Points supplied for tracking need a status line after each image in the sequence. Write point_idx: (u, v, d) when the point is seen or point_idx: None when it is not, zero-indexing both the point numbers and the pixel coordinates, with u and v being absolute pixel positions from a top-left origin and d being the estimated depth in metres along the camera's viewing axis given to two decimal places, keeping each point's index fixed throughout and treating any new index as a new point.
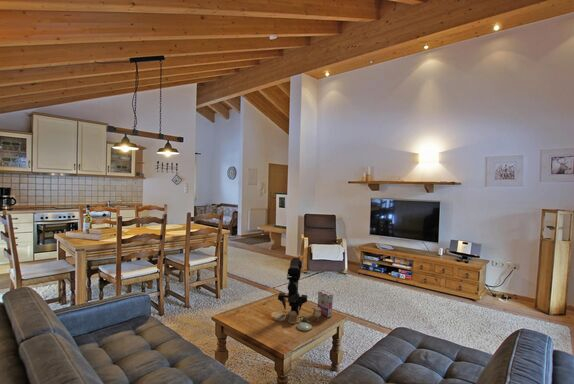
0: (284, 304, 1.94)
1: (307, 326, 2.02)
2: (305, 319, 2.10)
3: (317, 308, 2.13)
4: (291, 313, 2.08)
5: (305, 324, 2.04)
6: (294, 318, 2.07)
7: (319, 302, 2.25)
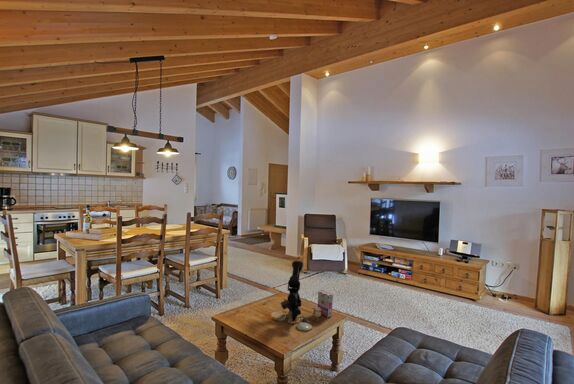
0: (289, 311, 2.12)
1: (307, 326, 2.02)
2: (305, 319, 2.10)
3: (317, 308, 2.13)
4: None
5: (305, 324, 2.04)
6: None
7: (319, 302, 2.25)
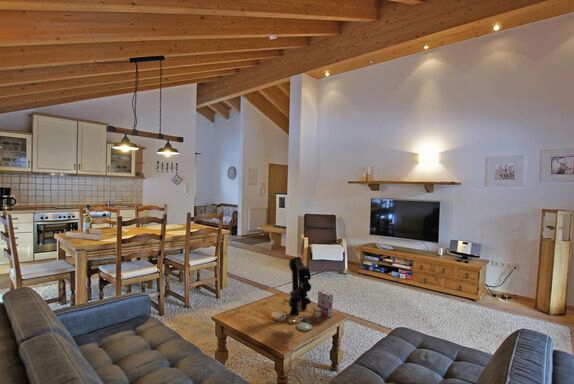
0: (299, 301, 2.06)
1: (307, 326, 2.02)
2: (305, 319, 2.10)
3: (317, 308, 2.13)
4: (300, 303, 2.02)
5: (305, 324, 2.04)
6: None
7: (319, 302, 2.25)
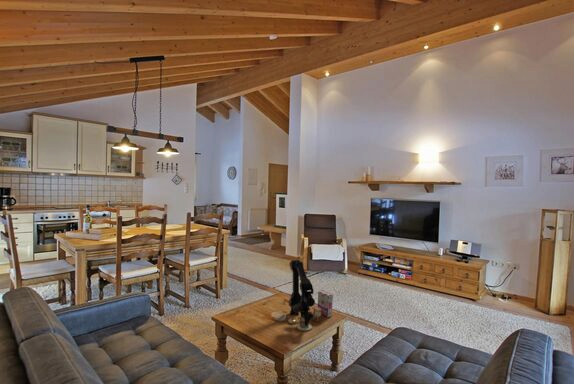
0: None
1: None
2: None
3: (317, 308, 2.13)
4: (303, 319, 2.01)
5: None
6: None
7: (319, 302, 2.25)
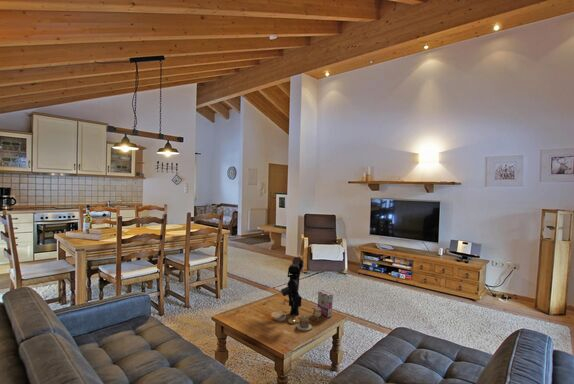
0: None
1: None
2: None
3: (317, 308, 2.13)
4: (303, 319, 2.01)
5: None
6: (306, 324, 2.00)
7: (319, 302, 2.25)
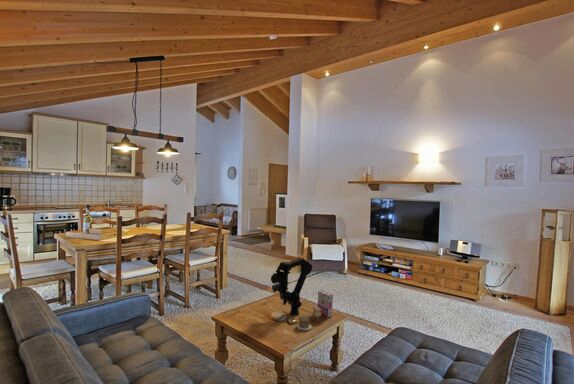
0: None
1: None
2: None
3: (317, 308, 2.13)
4: (303, 319, 2.01)
5: None
6: (306, 324, 2.00)
7: (319, 302, 2.25)
